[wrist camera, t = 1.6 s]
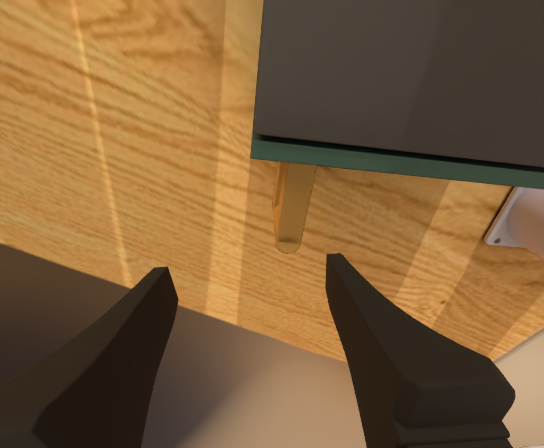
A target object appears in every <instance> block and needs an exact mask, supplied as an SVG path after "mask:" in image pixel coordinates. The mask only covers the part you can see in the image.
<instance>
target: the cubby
mask: <svg viewBox="0 0 544 448" xmlns="http://www.w3.org/2000/svg"><path fill="white" fill-rule="evenodd" d="M253 134H257V135H266V136H274V137H283V138H292V139H300V140H309V141H318V142H327V143H335V144H344V145H353V146H362V147H370V148H379V149H388V150H396V151H405V152H414V153H423V154H431V155H440V156H449V157H457V158H466V159H475V160H484V161H492V162H501V163H510V164H519V165H527V166H536V167H544V0H264V2H263V14H262V26H261V37H260V49H259V61H258V73H257V84H256V96H255V108H254V120H253Z"/></svg>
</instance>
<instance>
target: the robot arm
mask: <svg viewBox="0 0 544 448" xmlns="http://www.w3.org/2000/svg"><path fill="white" fill-rule="evenodd" d="M484 242H485V243H486V244H488V245H496V246H508V247H520V248H526V249H528V250H529V251H531V252H532V253H533V254H535V255H536V256H538V257H539V258H540V259H542V260H543V261H544V190H542V189H533V188H523V187H514V189H513V190H512V192H511V194H510V195H509V197H508V199H507V200H506V202H505V204H504V205H503V207H502V209H501V210H500V212H499V214H498V215H497V217H496V219H495V220H494V222H493V224H492V226H491V227H490V229H489V231H488V232H487V234H486V236H485V237H484ZM326 293H327V298H328V303H329V307H330V311H331V314H332V316H333V319H334V322H335V325H336V328H337V331H338V334H339V337H340V340H341V343H342V346H343V349H344V351H345V355H346V358H347V361H348V365H349V368H350V373H351V377H352V382H353V385H354V390H355V395H356V398H357V403H358V407H359V412H360V417H361V422H362V426H363V431H364V436H365V441H366V446H367V448H513V447H512V446H511V444H510V443H509V441H508V439H507V438H509V437H510V434H509V431H508V430H507V428H506V427H505V425H504V424H503V422H502V419H503V418H504V416H505V415H506V413H507V412H508V411H509V409H510V408H511V406H512V404H513V402H514V400H515V390H514V389H513V388H512V386H511V385H510V384H509V382H508V381H507V380H506V378H505V377H504V375H503V374H502V373H501V372H500V370H499V369H498V368H497V367H496V365H495V364H494V363H493V362H492V361H491V360H490V358H488V357H486V356H483V355H481V354H479V353H477V352H475V351H473V350H471V349H468V348H466V347H464V346H462V345H460V344H458V343H456V342H454V341H452V340H450V339H448V338H447V337H445V336H443V335H441V334H439V333H437V332H436V331H434V330H432V329H430V328H429V327H427V326H425V325H424V324H422V323H421V322H419V321H417V320H416V319H414V318H413V317H411V316H410V315H408V314H407V313H405V312H404V311H403V310H401V309H400V308H398V307H397V306H396V305H394V304H393V303H392V302H390V301H389V300H388V299H387V298H386V297H384V296H383V295H382V294H381V293H380V292H379V291H377V290H376V289H375V288H374V287H373V286H372V285H371V284H370V283H369V282H368V281H367V280H366V279H365V278H364V277H363V276H362V275H361V274H360V273H359V272H358V271H357V270H356V269H355V268H354V267H353V266H352V265H351V264H350V263H349V262H348V261H347V260H346V259H345V257H344V256H343V255H342V254H341V253H337V254H327V262H326ZM177 305H178V297H177V294H176V290H175V287H174V284H173V281H172V278H171V275H170V272H169V269H168V267H157V268H153V269H152V270H151V271H150V272H149V273H148V274H147V275H146V276H145V277H144V278H143V279H142V280H141V281H140V282H139V283H138V284H137V285H136V286H135V287H134V288H132V289H131V290H130V291H129V292H128V293H127V294H126V295H125V296H124V297H123V298H122V299H121V300H120V301H119V302H118V303H116V304H115V305H114V306H113V307H112V308H111V309H110V310H108V311H107V312H106V313H105V314H104V315H103V316H102V317H100V318H99V319H98V320H97V321H95V322H94V323H93V324H92V325H90V326H89V327H88V328H86V329H85V330H84V331H82V332H81V333H80V334H79V335H77V336H76V337H74V338H73V339H72V340H70V341H69V342H67V343H66V344H64V345H63V346H61V347H60V348H58V349H57V350H55V351H54V352H52V353H51V354H49V355H48V356H46V357H44V358H43V359H41V360H39V361H38V362H36V363H35V364H33V365H31V366H30V367H28V368H26V369H25V370H23V371H21V372H19V373H17V374H16V375H14V376H12V377H10V378H9V379H7V380H5V381H3V382H1V383H0V448H141V444H142V438H143V433H144V428H145V423H146V418H147V413H148V408H149V403H150V399H151V395H152V390H153V386H154V382H155V378H156V374H157V371H158V368H159V364H160V361H161V358H162V356H163V353H164V350H165V347H166V344H167V341H168V338H169V335H170V332H171V329H172V326H173V323H174V320H175V315H176V310H177ZM521 448H544V445H532V446H525V447H521Z"/></svg>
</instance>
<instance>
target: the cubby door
mask: <svg viewBox="0 0 544 448" xmlns="http://www.w3.org/2000/svg"><path fill="white" fill-rule="evenodd" d="M250 158H251V159H260V160H270V161H278V165H277V172H276V180H275V187H274V194H273V202H272V207H273V219H274V230H275V242H276V247H277V249H278V250H279V251H280V252H282V253H286V254H289V253H293V252H295V251H296V250H298V248H299V247H300V244H301V240H302V235H303V230H304V225H305V220H306V216H307V211H308V206H309V201H310V196H311V192H312V187H313V182H314V177H315V173H316V168H317V166H326V167H336V168H345V169H354V170H364V171H373V172H383V173H392V174H401V175H411V176H420V177H429V178H439V179H448V180H458V181H467V182H476V183H486V184H495V185H505V186H514V187H523V188H533V189H542V190H544V167H536V166H527V165H519V164H510V163H501V162H492V161H484V160H475V159H466V158H457V157H449V156H440V155H431V154H423V153H414V152H405V151H396V150H388V149H379V148H370V147H362V146H353V145H344V144H335V143H327V142H318V141H309V140H300V139H292V138H283V137H274V136H266V135H257V134H253V132H252V143H251V155H250Z"/></svg>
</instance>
